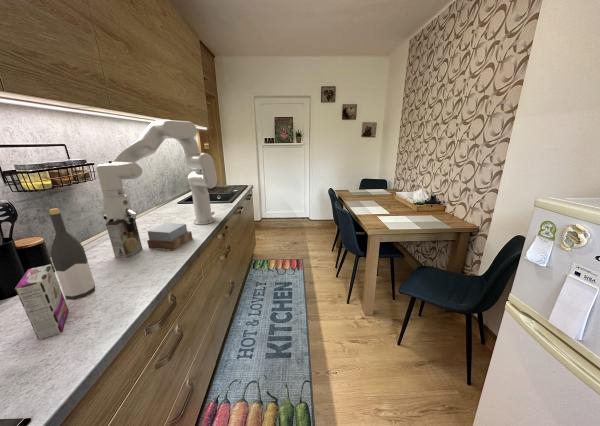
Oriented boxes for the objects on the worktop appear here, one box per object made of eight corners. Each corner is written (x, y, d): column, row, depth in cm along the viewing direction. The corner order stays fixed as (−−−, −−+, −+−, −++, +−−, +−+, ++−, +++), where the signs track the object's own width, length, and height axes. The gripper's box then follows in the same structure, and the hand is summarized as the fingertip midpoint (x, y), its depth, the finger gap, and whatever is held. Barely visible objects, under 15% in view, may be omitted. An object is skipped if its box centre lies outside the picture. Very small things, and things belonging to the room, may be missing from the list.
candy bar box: (47, 317, 71) (27, 268, 67) (69, 310, 74) (52, 263, 69) (36, 342, 63) (13, 287, 58) (62, 333, 65) (42, 280, 61)
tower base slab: (169, 237, 130) (167, 229, 129) (192, 239, 127) (191, 231, 126) (149, 249, 117) (147, 240, 115) (174, 251, 114) (172, 242, 113)
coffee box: (131, 248, 117) (123, 216, 112) (142, 249, 115) (135, 217, 111) (114, 257, 108) (105, 223, 103) (126, 258, 107) (117, 224, 102)
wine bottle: (90, 283, 88) (65, 204, 79) (100, 290, 84) (75, 207, 75) (61, 295, 81) (30, 210, 73) (70, 303, 77) (39, 214, 69)
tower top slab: (167, 230, 127) (165, 222, 126) (187, 232, 125) (186, 223, 124) (149, 239, 116) (147, 231, 115) (171, 241, 114) (169, 232, 112)
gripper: (138, 192, 105) (145, 229, 110) (105, 191, 109) (114, 227, 113) (123, 195, 98) (131, 235, 103) (88, 194, 101) (98, 232, 106)
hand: (122, 230), depth 108 cm, fingers open, 9 cm apart
